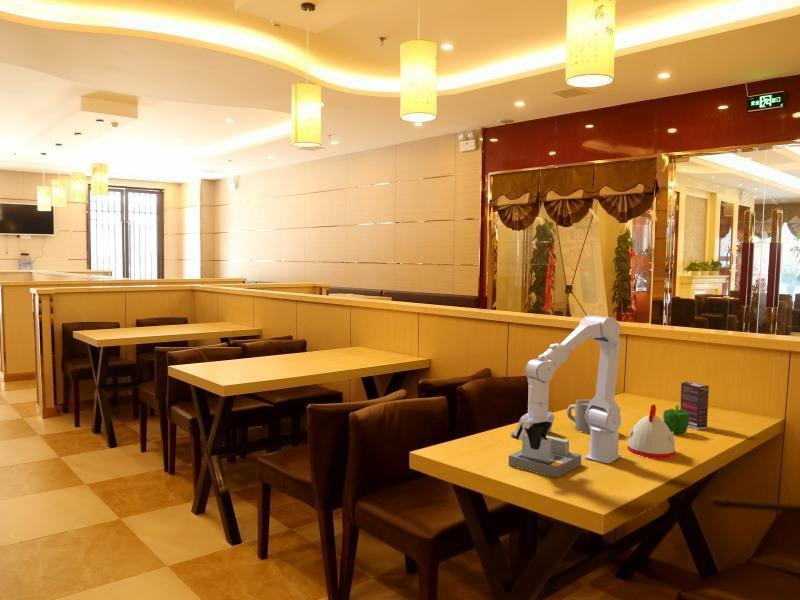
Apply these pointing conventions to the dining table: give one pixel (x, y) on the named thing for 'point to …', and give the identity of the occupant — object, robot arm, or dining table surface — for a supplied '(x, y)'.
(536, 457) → the panel
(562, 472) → the rack
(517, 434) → the white arched block
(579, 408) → the coffee mug
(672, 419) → the bell pepper
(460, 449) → the dining table surface
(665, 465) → the dining table surface
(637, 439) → the chicken hat
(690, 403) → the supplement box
